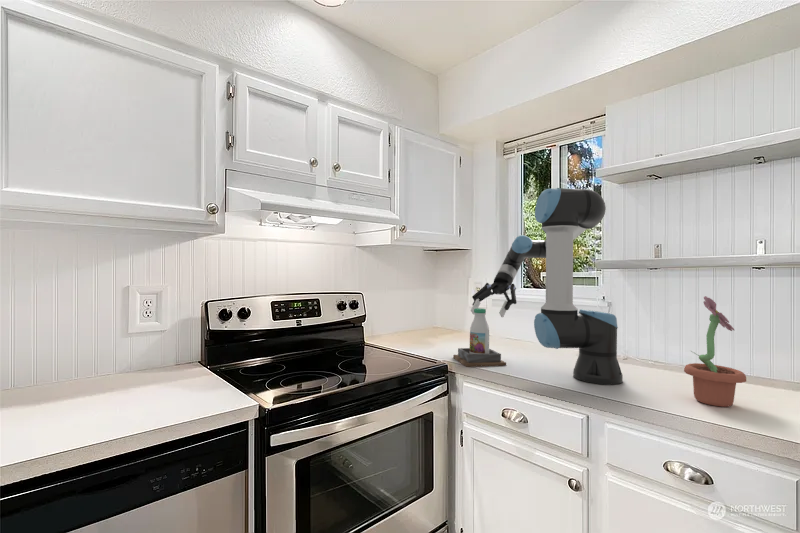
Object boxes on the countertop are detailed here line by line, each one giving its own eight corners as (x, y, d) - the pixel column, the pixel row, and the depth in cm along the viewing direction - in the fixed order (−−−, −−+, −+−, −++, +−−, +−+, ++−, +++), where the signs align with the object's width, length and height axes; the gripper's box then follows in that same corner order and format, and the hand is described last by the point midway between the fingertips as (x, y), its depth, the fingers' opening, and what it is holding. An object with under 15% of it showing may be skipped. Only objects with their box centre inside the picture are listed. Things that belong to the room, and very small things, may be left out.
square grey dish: (506, 365, 155) (506, 354, 155) (466, 366, 153) (466, 355, 153) (489, 356, 171) (489, 346, 171) (453, 357, 168) (453, 347, 168)
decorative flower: (753, 416, 103) (754, 299, 104) (687, 406, 110) (688, 296, 110) (739, 400, 116) (739, 296, 117) (681, 392, 123) (681, 294, 123)
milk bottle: (477, 355, 167) (478, 307, 167) (492, 359, 161) (493, 309, 162) (465, 358, 162) (466, 308, 162) (480, 361, 156) (481, 310, 157)
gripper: (534, 283, 171) (517, 322, 160) (483, 282, 188) (465, 317, 177) (528, 271, 167) (510, 309, 156) (477, 270, 184) (457, 305, 174)
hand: (486, 313), depth 167 cm, fingers open, 13 cm apart
